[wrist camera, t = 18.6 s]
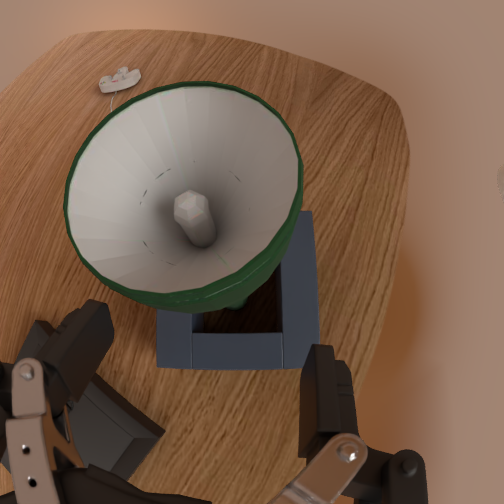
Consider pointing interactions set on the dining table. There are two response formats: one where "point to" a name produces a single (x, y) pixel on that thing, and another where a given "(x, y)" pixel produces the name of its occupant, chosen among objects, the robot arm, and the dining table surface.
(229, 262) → the flashlight
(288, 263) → the hollow square frame
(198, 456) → the dining table surface
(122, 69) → the game controller
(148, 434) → the picture frame
